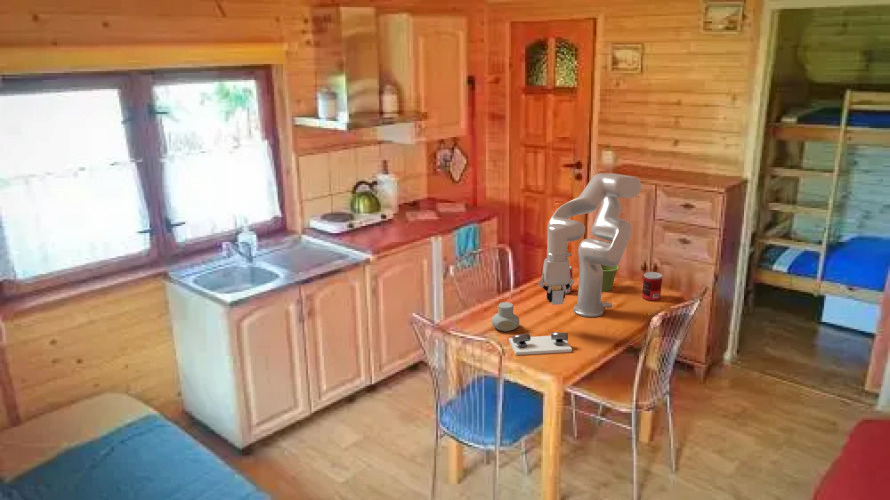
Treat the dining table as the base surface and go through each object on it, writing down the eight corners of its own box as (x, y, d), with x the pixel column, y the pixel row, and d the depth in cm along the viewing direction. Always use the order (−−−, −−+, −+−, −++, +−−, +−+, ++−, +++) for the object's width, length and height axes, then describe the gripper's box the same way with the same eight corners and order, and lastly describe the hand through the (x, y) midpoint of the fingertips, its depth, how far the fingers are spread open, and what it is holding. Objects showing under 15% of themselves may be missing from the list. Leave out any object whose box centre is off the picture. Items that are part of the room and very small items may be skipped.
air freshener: (517, 323, 270) (518, 300, 267) (520, 332, 263) (521, 308, 259) (490, 324, 270) (491, 301, 267) (492, 332, 262) (493, 309, 259)
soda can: (572, 294, 300) (574, 269, 296) (556, 294, 300) (558, 269, 296) (570, 289, 306) (571, 264, 303) (554, 289, 307) (556, 264, 303)
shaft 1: (526, 341, 252) (526, 331, 251) (531, 346, 248) (531, 336, 247) (511, 343, 250) (511, 333, 249) (516, 348, 246) (516, 338, 245)
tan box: (548, 298, 263) (548, 285, 261) (559, 298, 263) (559, 284, 261) (552, 304, 258) (552, 291, 256) (563, 304, 258) (563, 290, 256)
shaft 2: (566, 340, 253) (567, 330, 251) (567, 346, 248) (568, 335, 247) (550, 340, 253) (551, 330, 252) (551, 345, 249) (551, 335, 248)
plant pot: (585, 288, 306) (586, 265, 303) (600, 282, 314) (602, 259, 311) (607, 296, 298) (608, 272, 295) (622, 289, 306) (624, 266, 302)
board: (562, 337, 258) (562, 335, 257) (571, 352, 246) (571, 349, 246) (508, 340, 255) (508, 337, 255) (515, 355, 244) (515, 352, 244)
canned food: (662, 297, 297) (664, 273, 294) (657, 302, 291) (659, 279, 287) (644, 293, 301) (647, 270, 298) (639, 299, 295) (641, 275, 291)
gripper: (575, 251, 258) (573, 295, 265) (532, 254, 257) (532, 298, 263) (581, 258, 251) (579, 302, 258) (537, 261, 250) (536, 306, 256)
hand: (555, 300), depth 260 cm, fingers closed on tan box, 4 cm apart
